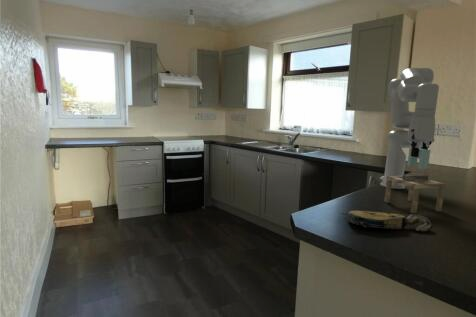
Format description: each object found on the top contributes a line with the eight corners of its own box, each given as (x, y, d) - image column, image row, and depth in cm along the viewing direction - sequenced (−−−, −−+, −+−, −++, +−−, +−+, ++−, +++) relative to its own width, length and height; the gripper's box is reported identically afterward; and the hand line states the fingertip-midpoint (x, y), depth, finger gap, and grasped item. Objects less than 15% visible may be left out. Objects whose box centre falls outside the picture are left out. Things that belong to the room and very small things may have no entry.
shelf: (384, 201, 138) (387, 171, 135) (409, 200, 142) (413, 171, 140) (413, 213, 123) (418, 180, 120) (441, 211, 127) (446, 179, 125)
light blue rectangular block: (407, 165, 132) (409, 147, 131) (414, 165, 133) (416, 147, 132) (420, 168, 126) (423, 149, 124) (427, 168, 127) (430, 150, 125)
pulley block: (444, 219, 97) (348, 211, 101) (443, 237, 97) (347, 228, 101) (423, 212, 111) (339, 205, 115) (422, 227, 111) (339, 220, 115)
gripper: (431, 114, 132) (425, 155, 135) (401, 112, 127) (396, 155, 130) (447, 114, 125) (441, 158, 128) (416, 113, 120) (410, 158, 123)
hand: (418, 156), depth 129 cm, fingers closed on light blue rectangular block, 4 cm apart
